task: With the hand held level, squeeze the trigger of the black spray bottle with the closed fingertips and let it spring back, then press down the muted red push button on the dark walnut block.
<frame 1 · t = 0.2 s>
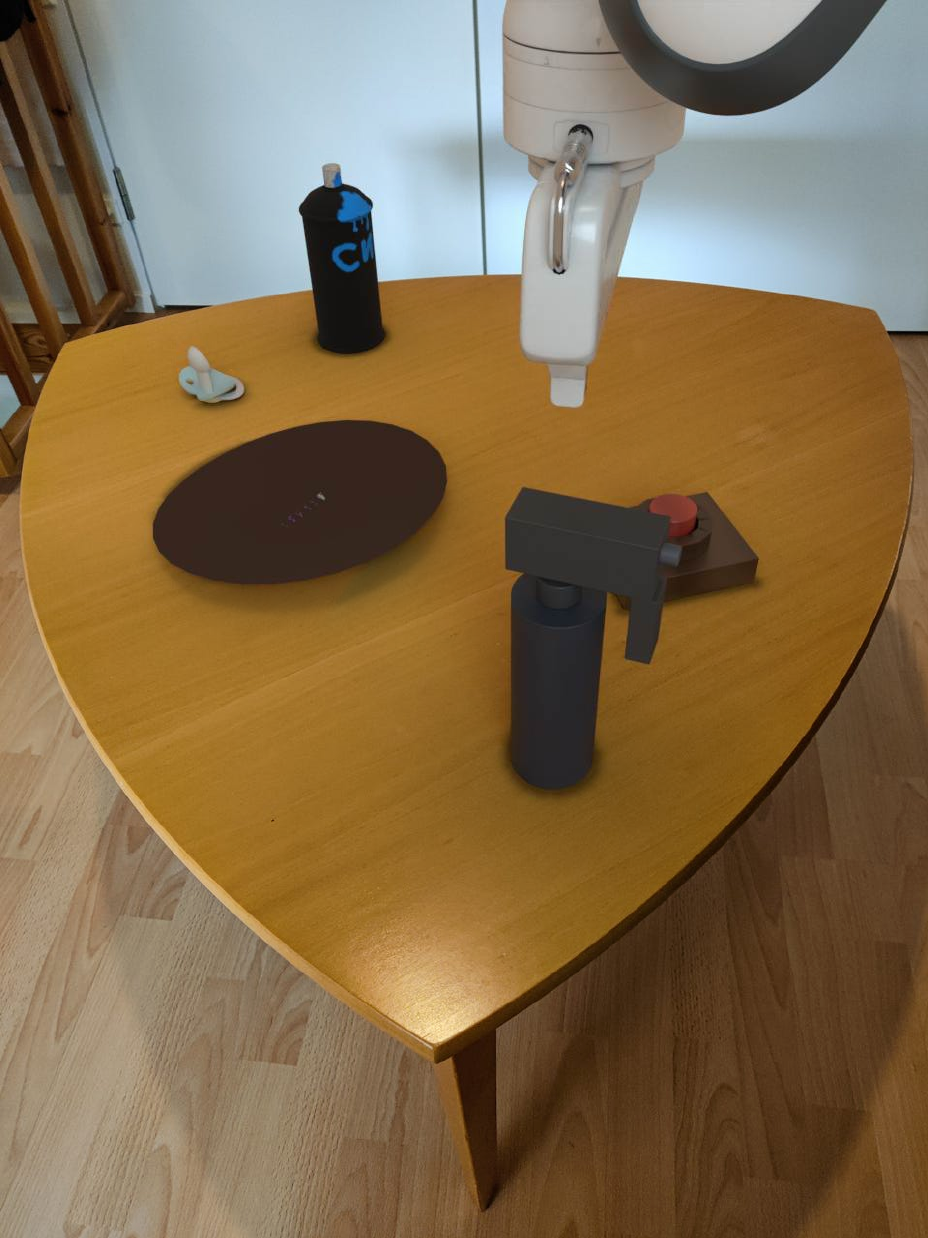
hand: (581, 357, 57), 29 cm above the table, tool pointing down, fingers open, 8 cm apart
button block: (666, 560, 89), on the table
trigger: (645, 619, 61), point 16 cm above the table, slide at 0.0 cm
spray bottle: (551, 756, 73), on the table
button: (672, 515, 85), point 5 cm above the table, slide at 0.1 cm
pacifier: (216, 395, 112), on the table
aerosol can: (351, 338, 121), on the table
plate: (303, 514, 96), on the table
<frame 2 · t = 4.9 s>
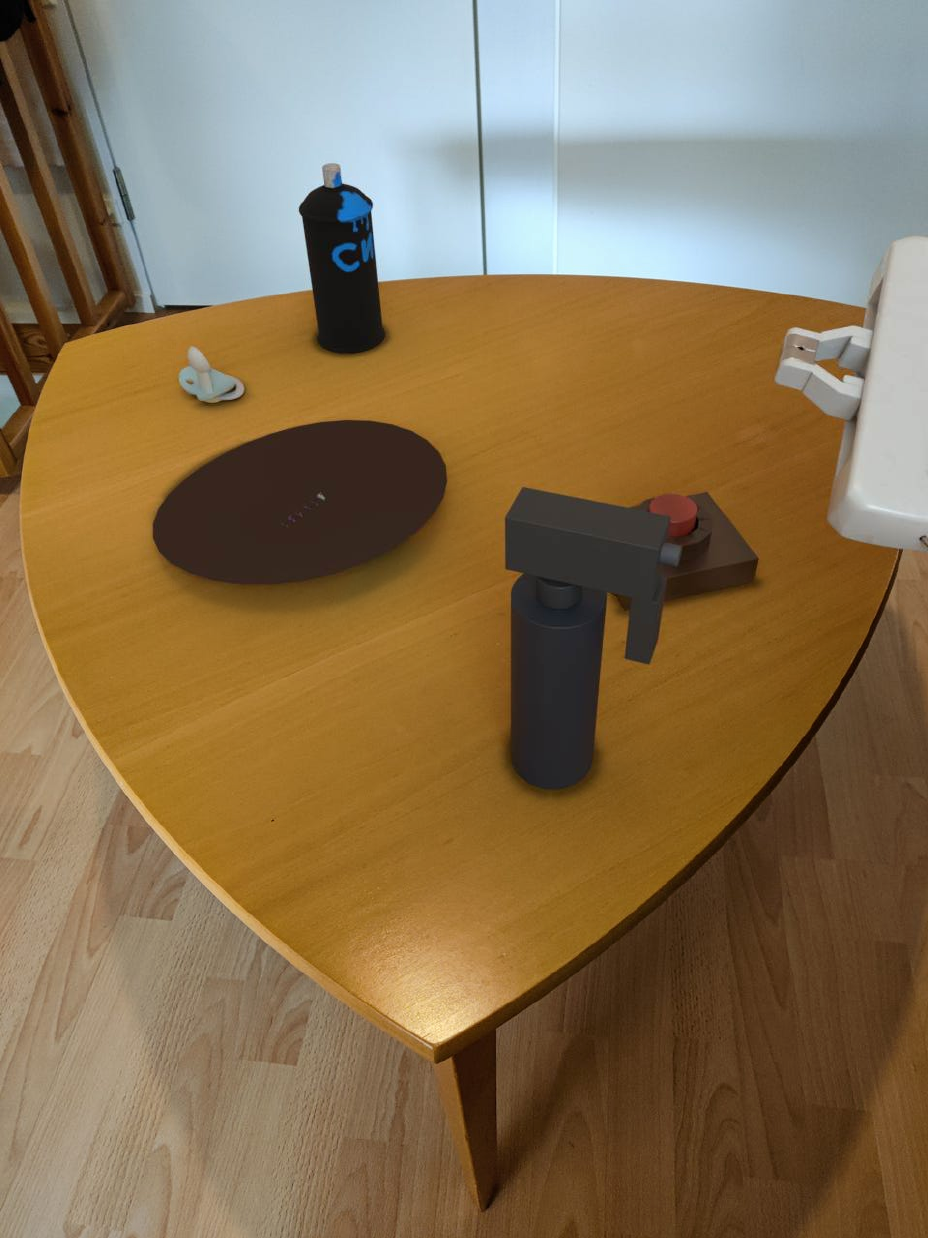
hand: (781, 354, 58), 28 cm above the table, tool horizontal, fingers closed
nothing on the table moved.
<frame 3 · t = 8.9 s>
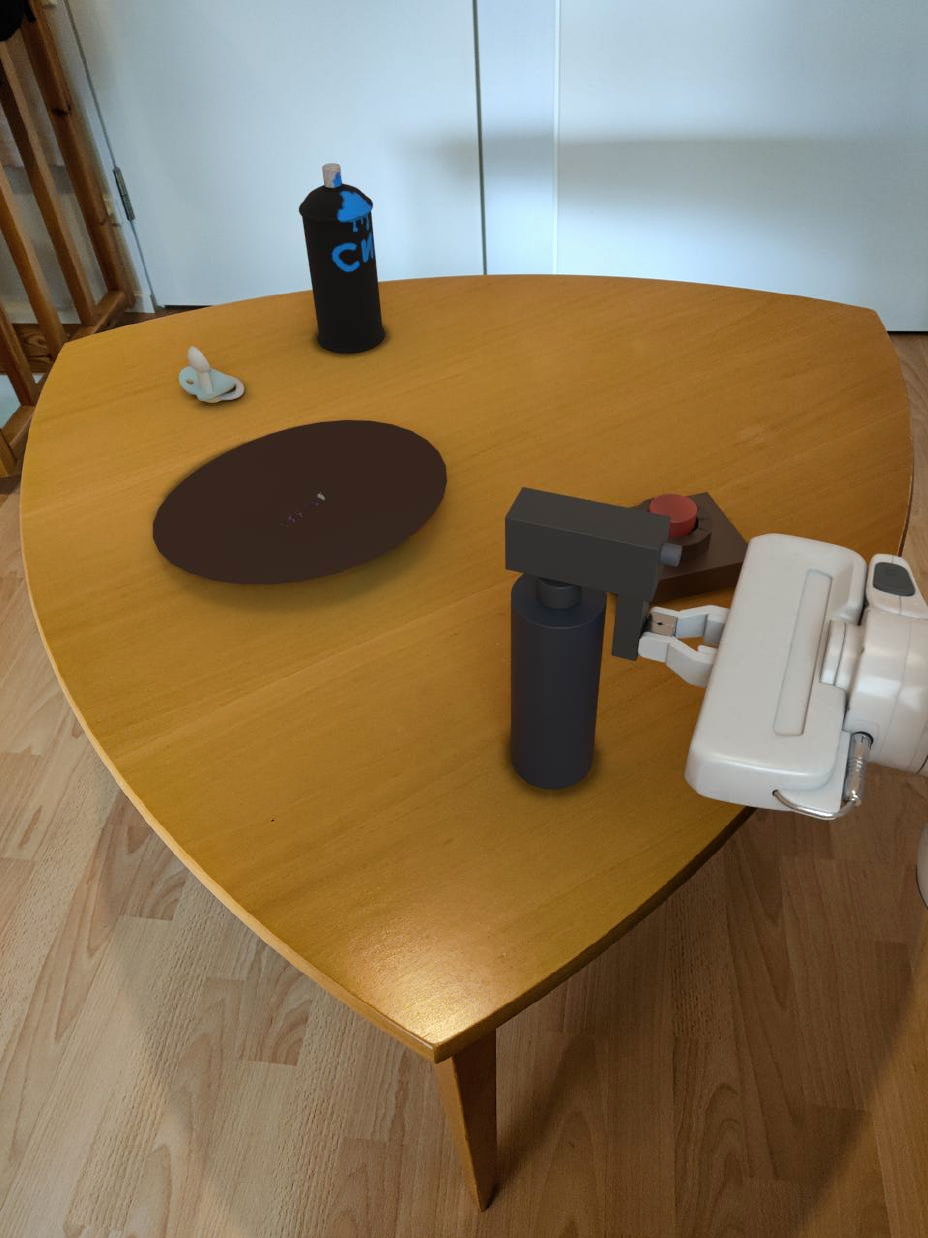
hand: (644, 630, 62), 14 cm above the table, tool horizontal, fingers closed, pressing on trigger
trigger: (631, 616, 61), point 16 cm above the table, slide at -0.8 cm, touching gripper
everything else where it was.
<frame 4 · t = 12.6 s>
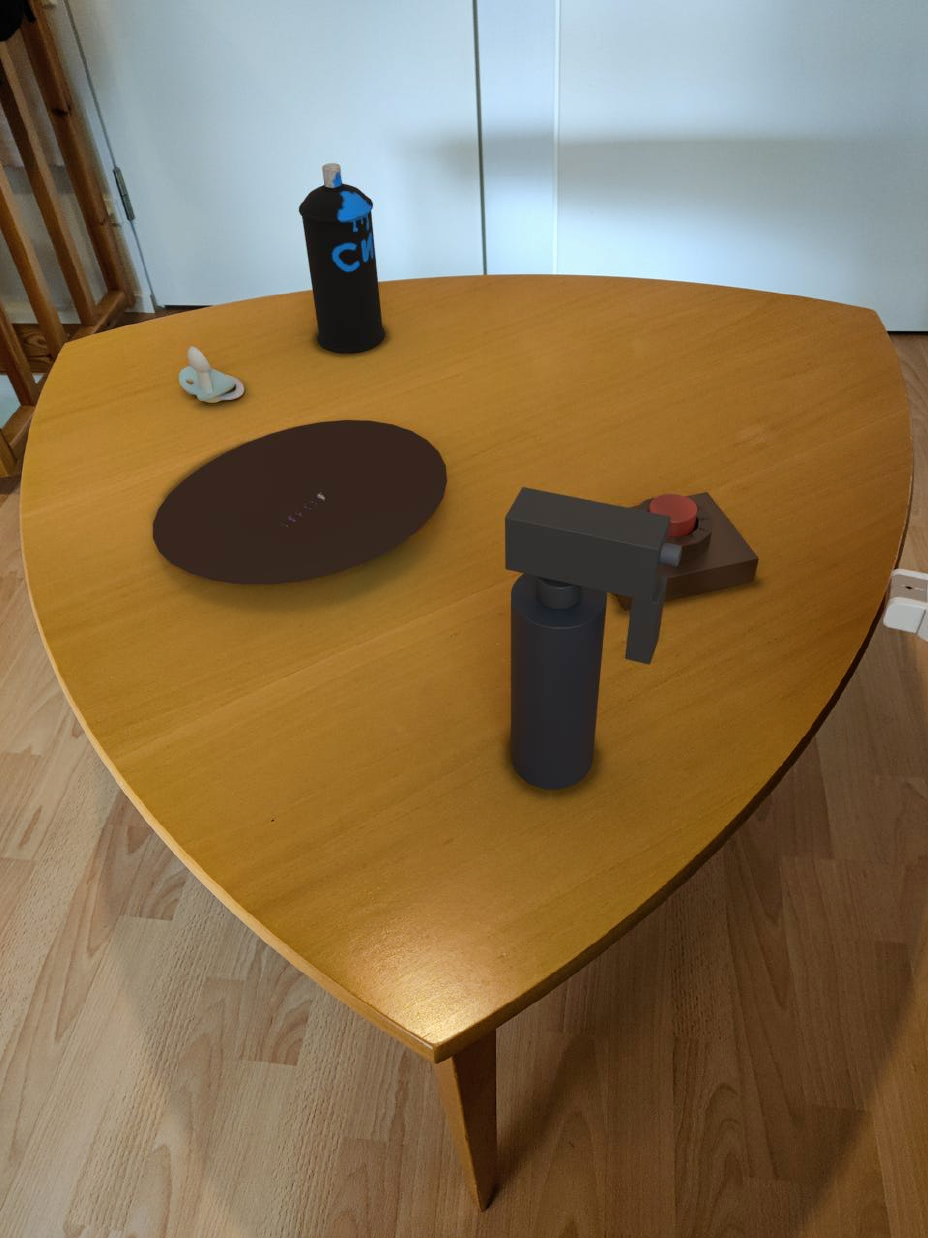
hand: (886, 596, 53), 21 cm above the table, tool horizontal, fingers closed
trigger: (645, 619, 61), point 16 cm above the table, slide at 0.0 cm
everything else where it was.
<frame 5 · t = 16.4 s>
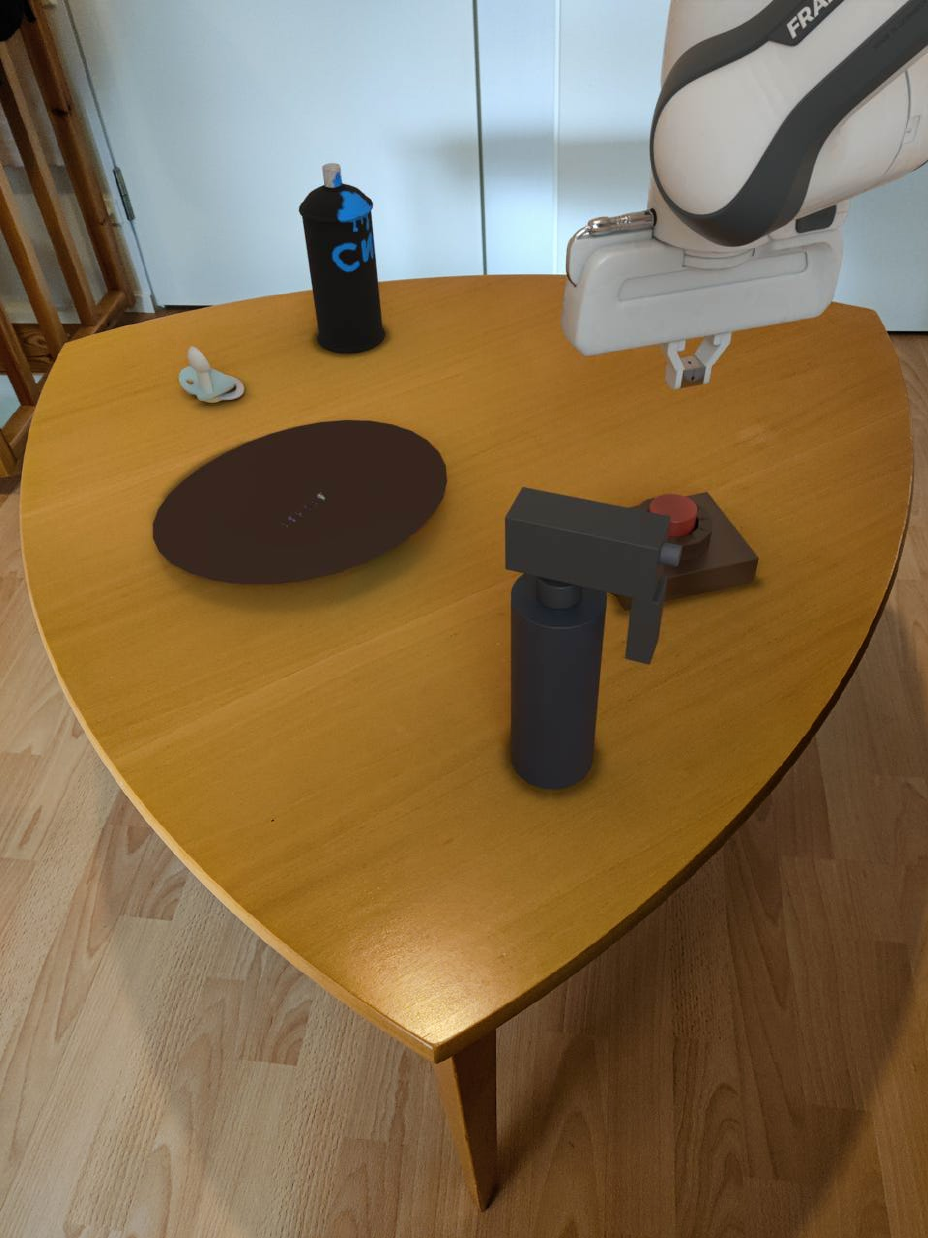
hand: (686, 383, 76), 18 cm above the table, tool pointing down, fingers closed
nothing on the table moved.
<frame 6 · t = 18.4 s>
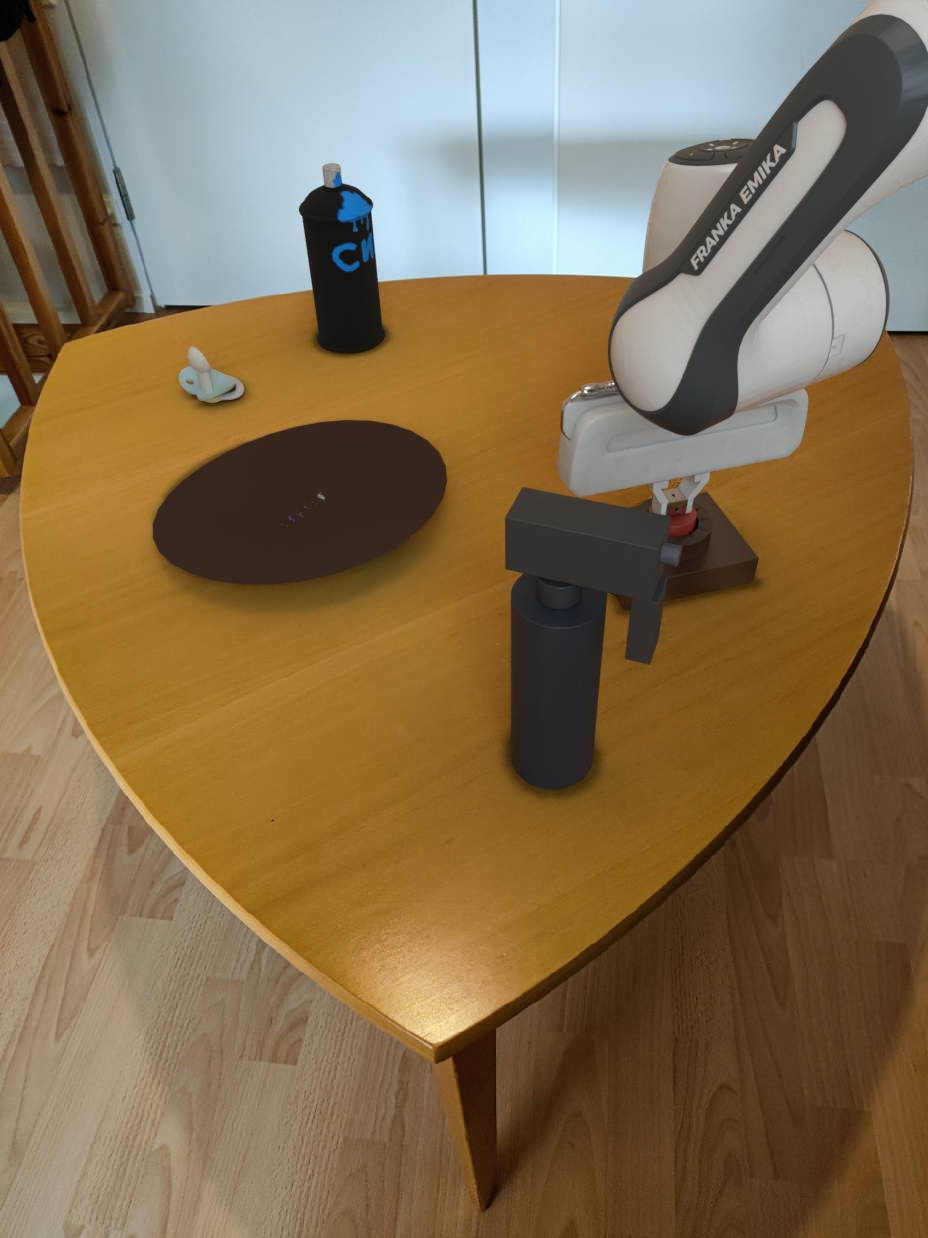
hand: (670, 512, 85), 5 cm above the table, tool pointing down, fingers closed, pressing on button
button: (671, 520, 86), point 4 cm above the table, slide at -0.4 cm, touching gripper
everything else where it was.
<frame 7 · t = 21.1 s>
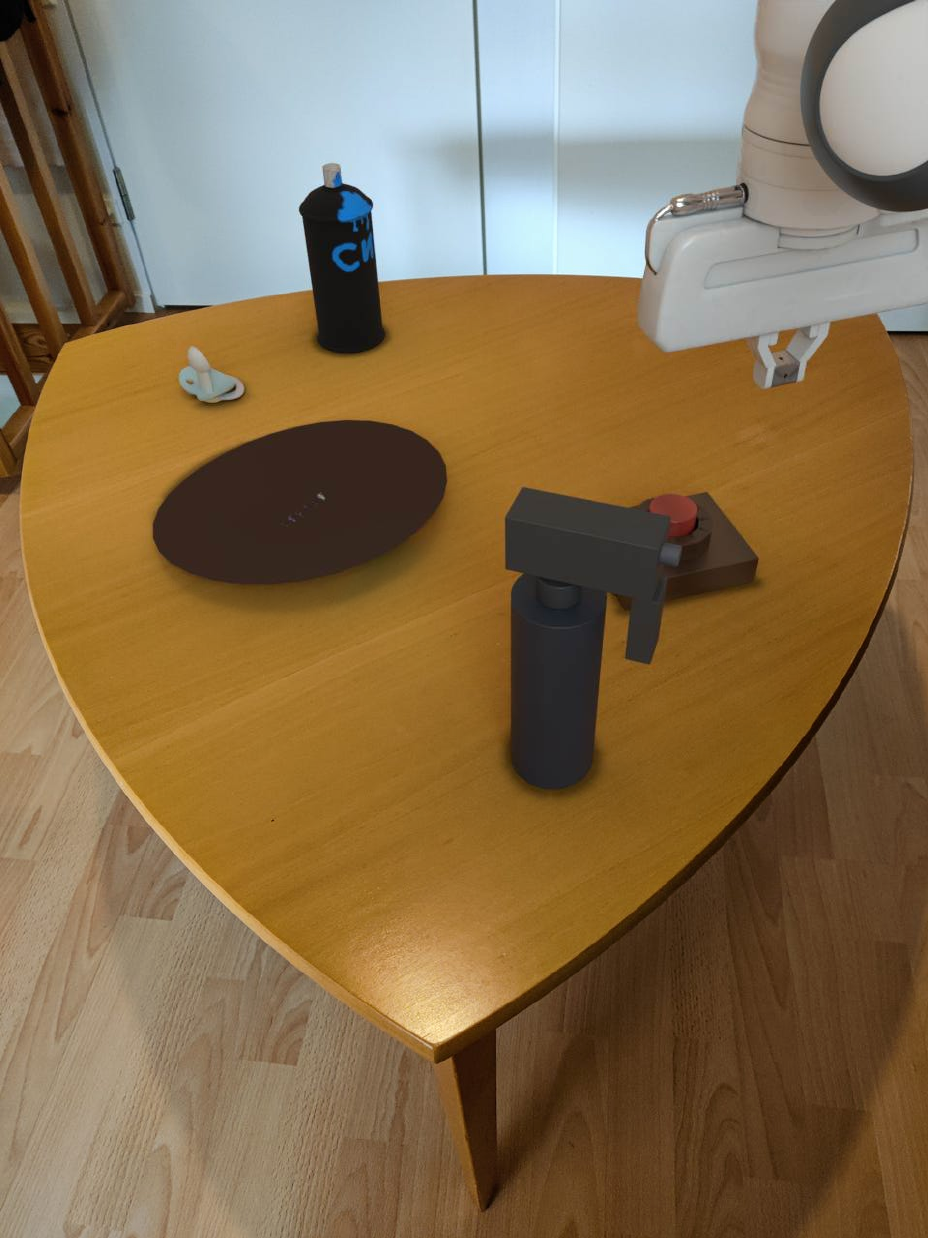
hand: (777, 381, 68), 22 cm above the table, tool pointing down, fingers closed
button: (672, 515, 85), point 5 cm above the table, slide at 0.1 cm
everything else where it was.
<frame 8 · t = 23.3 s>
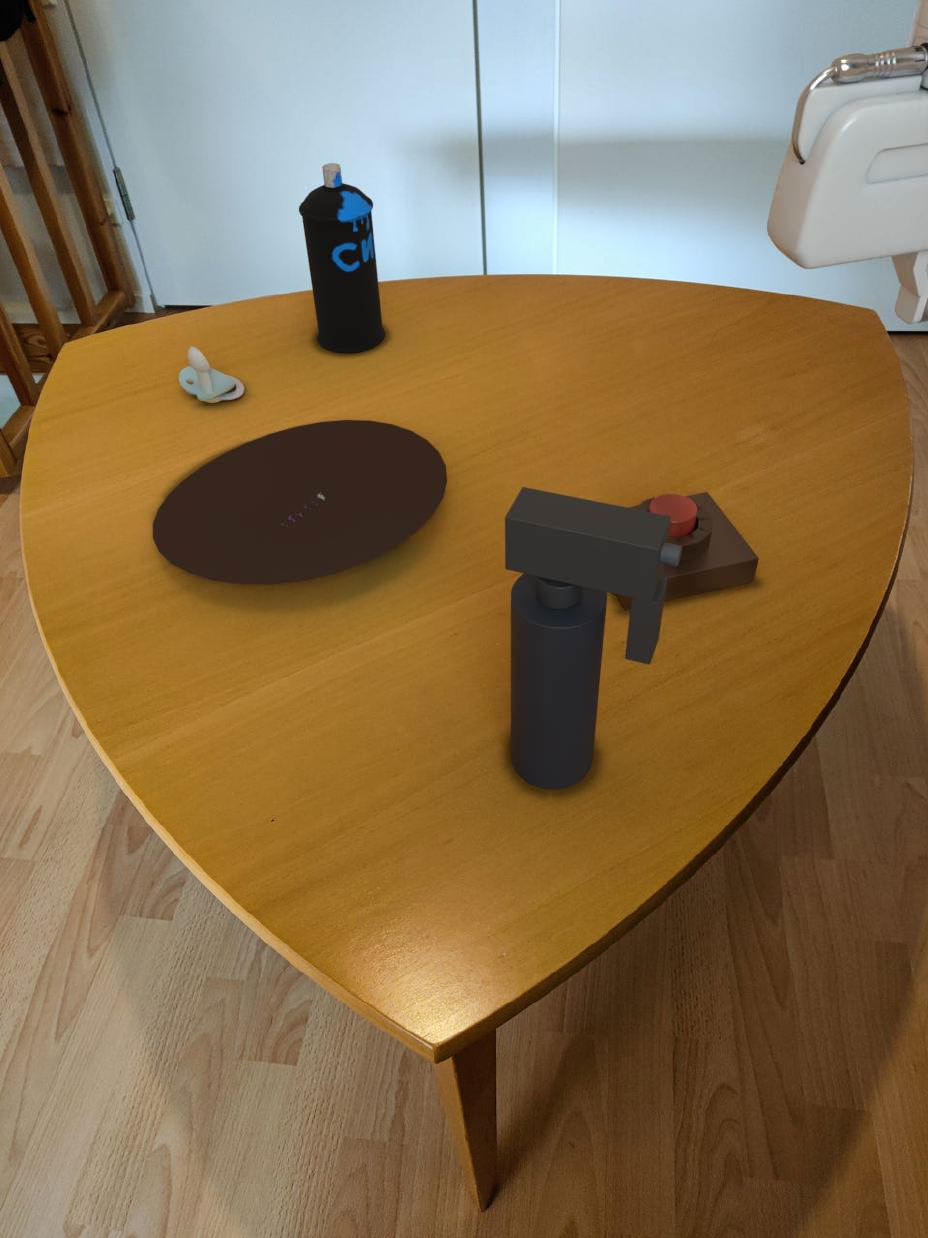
hand: (924, 316, 55), 31 cm above the table, tool pointing down, fingers closed
nothing on the table moved.
at the end: trigger pushed in 1.1 cm at the most during the clip, back to where it started at the end; trigger slide at 0.0 cm; button pushed in 1.0 cm at the most during the clip, back to where it started at the end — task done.
